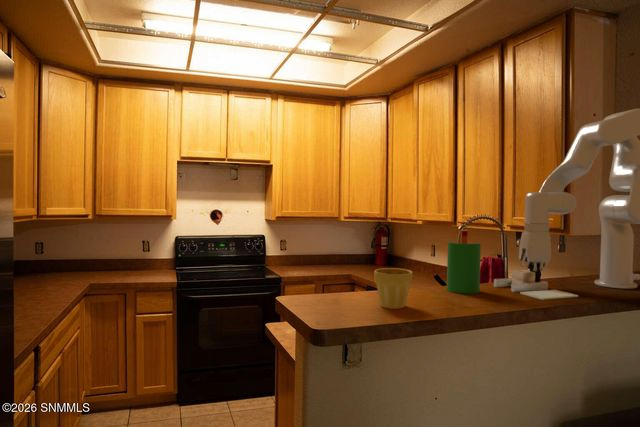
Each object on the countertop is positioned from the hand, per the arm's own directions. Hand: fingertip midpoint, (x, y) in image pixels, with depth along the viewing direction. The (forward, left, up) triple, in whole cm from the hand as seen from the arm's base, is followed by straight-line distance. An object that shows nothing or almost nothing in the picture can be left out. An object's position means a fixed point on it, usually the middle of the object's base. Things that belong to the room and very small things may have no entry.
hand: (534, 282), depth 157 cm
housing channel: (+6, 0, -2) cm, 6 cm away
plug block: (+5, 0, -2) cm, 5 cm away
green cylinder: (+28, -1, -2) cm, 28 cm away
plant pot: (+60, +11, -2) cm, 61 cm away
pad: (+6, +12, -2) cm, 14 cm away
